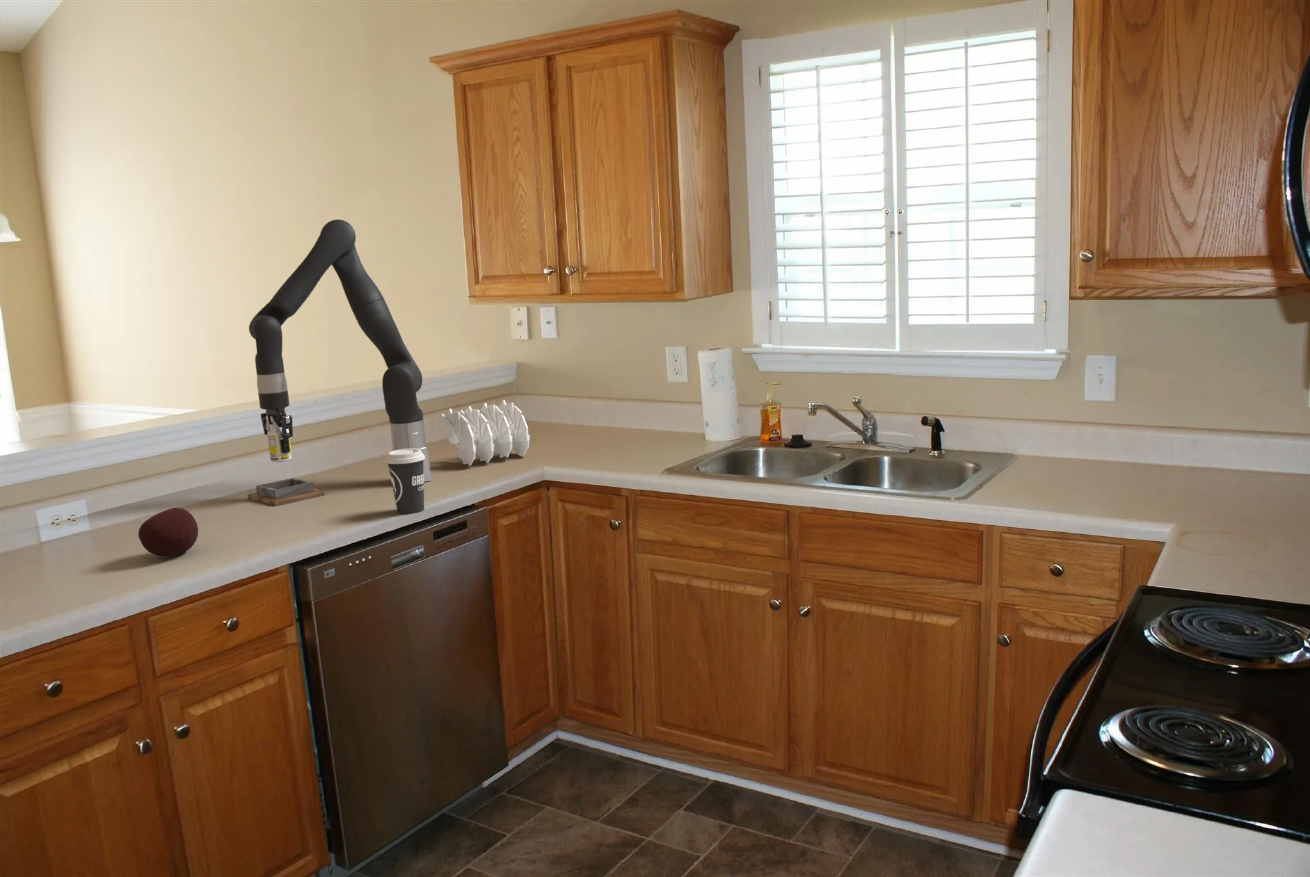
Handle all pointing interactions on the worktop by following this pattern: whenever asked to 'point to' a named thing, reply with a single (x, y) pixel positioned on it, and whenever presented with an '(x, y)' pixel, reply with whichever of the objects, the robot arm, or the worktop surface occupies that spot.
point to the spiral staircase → (487, 431)
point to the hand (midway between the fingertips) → (280, 451)
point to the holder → (285, 492)
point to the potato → (169, 532)
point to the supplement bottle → (277, 446)
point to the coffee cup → (407, 479)
